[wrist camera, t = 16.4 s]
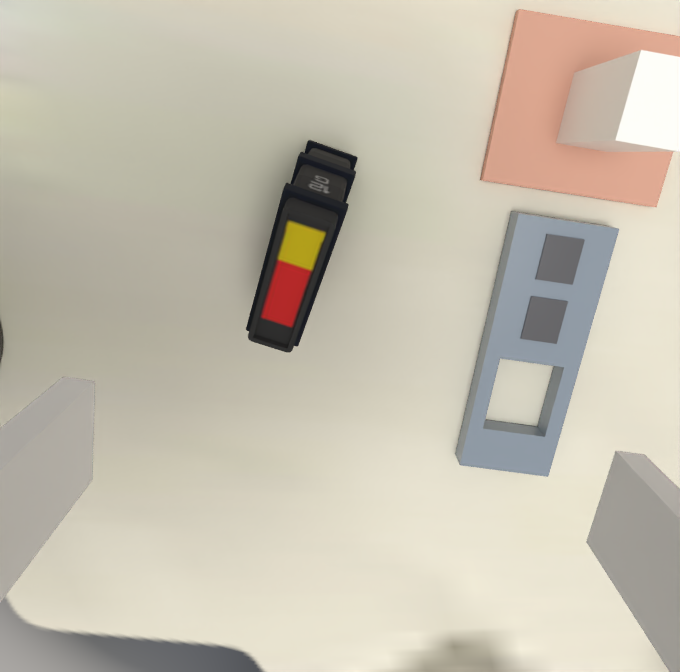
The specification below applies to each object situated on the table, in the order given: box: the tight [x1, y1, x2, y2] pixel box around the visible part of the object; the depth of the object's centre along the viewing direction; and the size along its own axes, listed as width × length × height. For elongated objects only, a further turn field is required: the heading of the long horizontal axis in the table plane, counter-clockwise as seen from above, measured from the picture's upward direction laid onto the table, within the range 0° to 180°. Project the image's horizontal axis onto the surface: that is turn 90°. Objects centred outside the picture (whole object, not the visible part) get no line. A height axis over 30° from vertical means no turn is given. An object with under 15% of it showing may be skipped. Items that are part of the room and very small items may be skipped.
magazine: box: [246, 140, 357, 352], centre depth 42 cm, size 4×13×15 cm, turn 161°
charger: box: [556, 50, 680, 152], centre depth 39 cm, size 4×5×10 cm
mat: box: [480, 9, 680, 207], centre depth 44 cm, size 14×12×1 cm
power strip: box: [455, 211, 619, 477], centre depth 49 cm, size 8×22×2 cm, turn 172°
